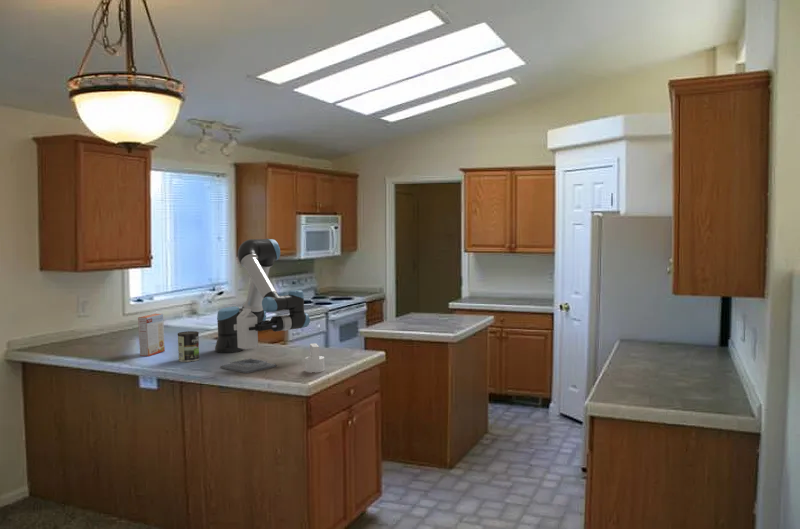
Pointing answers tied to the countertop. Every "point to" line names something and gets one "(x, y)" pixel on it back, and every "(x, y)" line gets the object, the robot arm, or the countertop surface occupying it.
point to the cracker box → (151, 334)
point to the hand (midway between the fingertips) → (238, 328)
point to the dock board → (248, 368)
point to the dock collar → (255, 361)
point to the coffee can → (188, 346)
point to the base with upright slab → (314, 360)
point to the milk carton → (246, 338)
